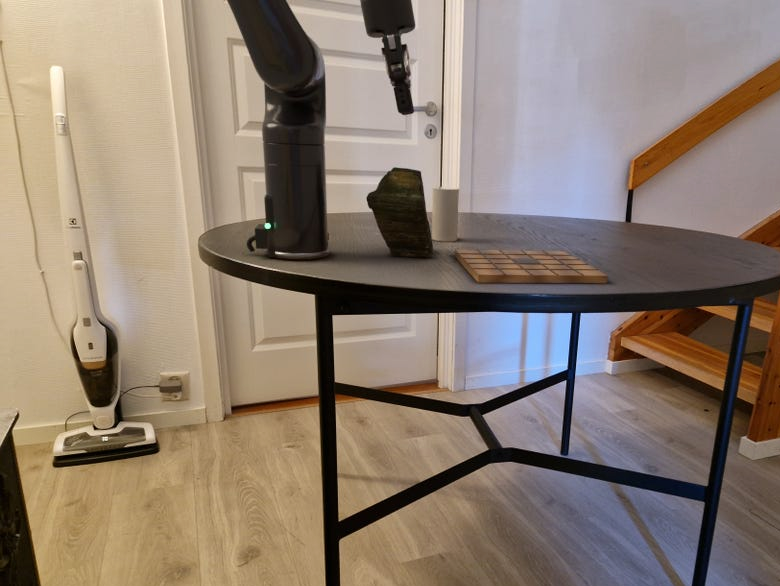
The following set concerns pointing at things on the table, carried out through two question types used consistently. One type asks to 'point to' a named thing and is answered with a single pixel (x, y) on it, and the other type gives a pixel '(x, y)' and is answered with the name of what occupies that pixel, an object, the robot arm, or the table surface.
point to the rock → (402, 213)
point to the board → (527, 267)
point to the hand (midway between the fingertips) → (406, 113)
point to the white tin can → (445, 213)
